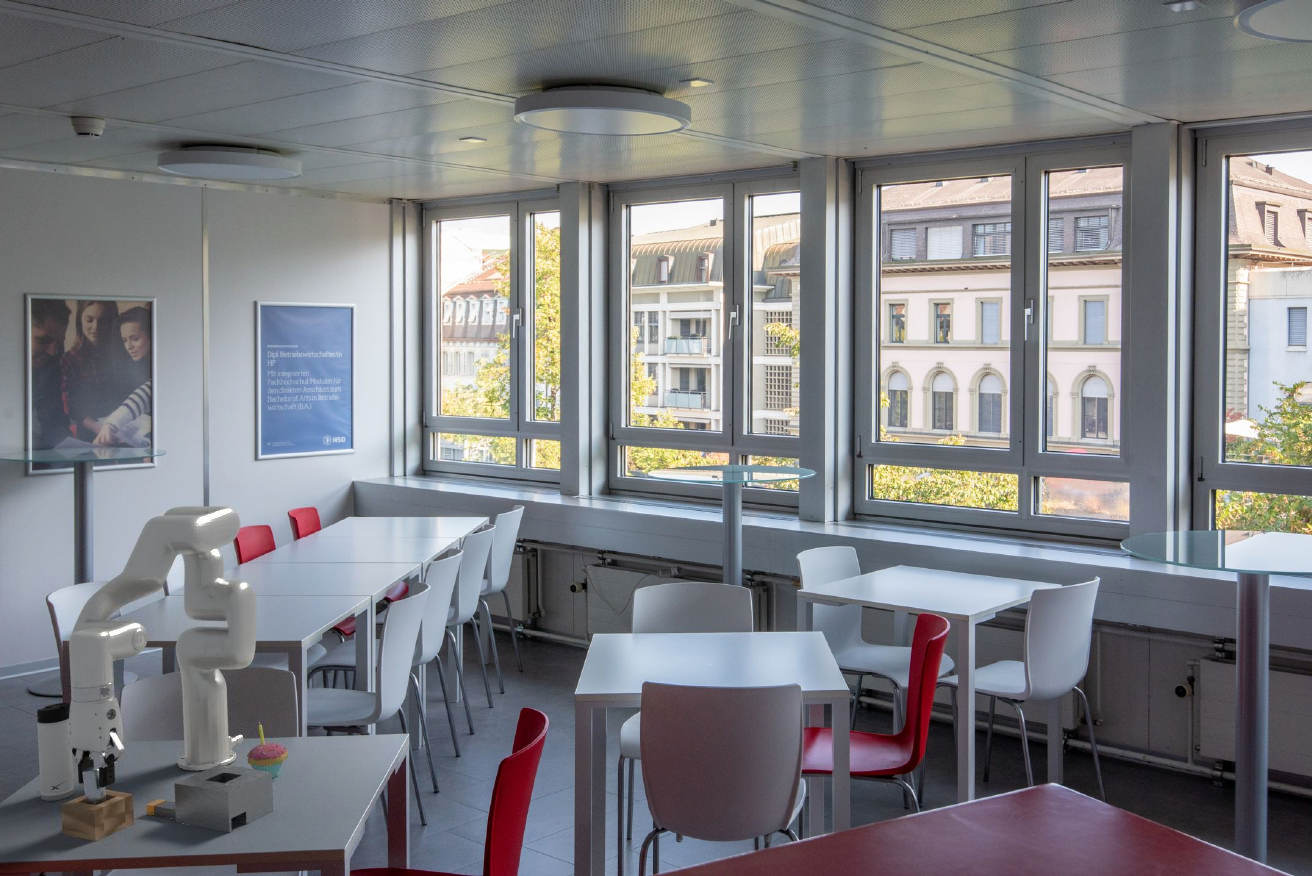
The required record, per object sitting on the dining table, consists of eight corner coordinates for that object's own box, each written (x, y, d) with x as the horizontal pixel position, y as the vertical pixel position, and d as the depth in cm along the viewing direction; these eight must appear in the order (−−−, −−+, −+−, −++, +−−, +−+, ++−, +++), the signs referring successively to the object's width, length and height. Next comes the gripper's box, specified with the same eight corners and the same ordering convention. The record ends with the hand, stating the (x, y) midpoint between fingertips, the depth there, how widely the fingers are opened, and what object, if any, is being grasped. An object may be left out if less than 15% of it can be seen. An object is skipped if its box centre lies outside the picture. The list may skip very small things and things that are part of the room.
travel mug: (61, 802, 236) (56, 708, 235) (33, 800, 237) (29, 707, 236) (81, 791, 242) (77, 700, 241) (55, 789, 243) (51, 699, 242)
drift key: (159, 809, 231) (159, 799, 231) (218, 819, 224) (218, 809, 224) (146, 814, 228) (146, 804, 228) (206, 825, 221) (205, 815, 221)
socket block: (221, 801, 234) (219, 764, 234) (273, 810, 229) (271, 772, 229) (176, 822, 223) (174, 783, 223) (229, 832, 218) (228, 792, 218)
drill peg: (100, 818, 223) (94, 765, 222) (112, 820, 222) (106, 766, 221) (84, 826, 220) (78, 771, 219) (97, 828, 219) (90, 773, 218)
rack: (101, 817, 227) (100, 788, 227) (134, 823, 223) (132, 794, 223) (62, 834, 219) (61, 804, 218) (95, 841, 215) (94, 810, 215)
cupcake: (239, 779, 248) (237, 726, 247) (266, 767, 255) (264, 715, 255) (270, 784, 244) (268, 730, 244) (296, 771, 252) (294, 719, 252)
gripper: (140, 691, 220) (144, 782, 221) (78, 683, 226) (82, 771, 227) (108, 701, 213) (112, 795, 214) (45, 693, 220) (49, 784, 220)
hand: (96, 782), depth 220 cm, fingers open, 5 cm apart
